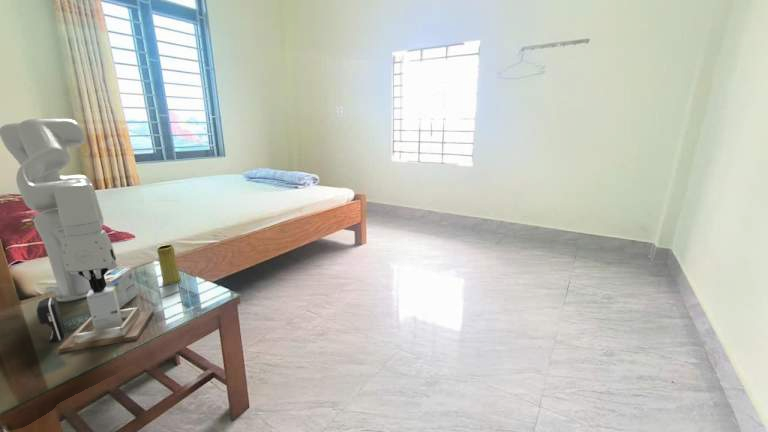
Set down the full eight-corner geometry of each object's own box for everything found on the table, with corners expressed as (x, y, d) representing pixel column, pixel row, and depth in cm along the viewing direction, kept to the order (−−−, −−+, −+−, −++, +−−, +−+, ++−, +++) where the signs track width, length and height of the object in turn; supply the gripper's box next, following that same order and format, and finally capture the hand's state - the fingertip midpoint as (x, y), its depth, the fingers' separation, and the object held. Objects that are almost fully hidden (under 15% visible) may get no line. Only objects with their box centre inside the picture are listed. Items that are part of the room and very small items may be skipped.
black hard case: (48, 334, 98) (37, 299, 95) (66, 329, 100) (55, 294, 97) (45, 345, 93) (33, 309, 90) (64, 340, 95) (53, 304, 92)
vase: (184, 279, 131) (177, 245, 127) (167, 286, 126) (160, 250, 122) (176, 276, 134) (169, 242, 131) (159, 282, 129) (152, 247, 126)
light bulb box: (118, 296, 119) (111, 268, 117) (138, 294, 120) (131, 267, 117) (96, 312, 109) (88, 282, 106) (118, 310, 110) (110, 280, 107)
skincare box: (95, 335, 95) (84, 296, 92) (97, 327, 99) (87, 290, 95) (122, 328, 98) (112, 290, 95) (123, 320, 102) (114, 284, 99)
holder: (59, 352, 90) (55, 340, 89) (86, 324, 102) (83, 313, 101) (137, 339, 95) (134, 327, 94) (153, 313, 108) (151, 303, 107)
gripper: (39, 236, 84) (59, 301, 89) (109, 229, 89) (125, 291, 94) (57, 227, 91) (75, 288, 96) (121, 222, 96) (135, 280, 101)
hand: (99, 290), depth 95 cm, fingers closed
